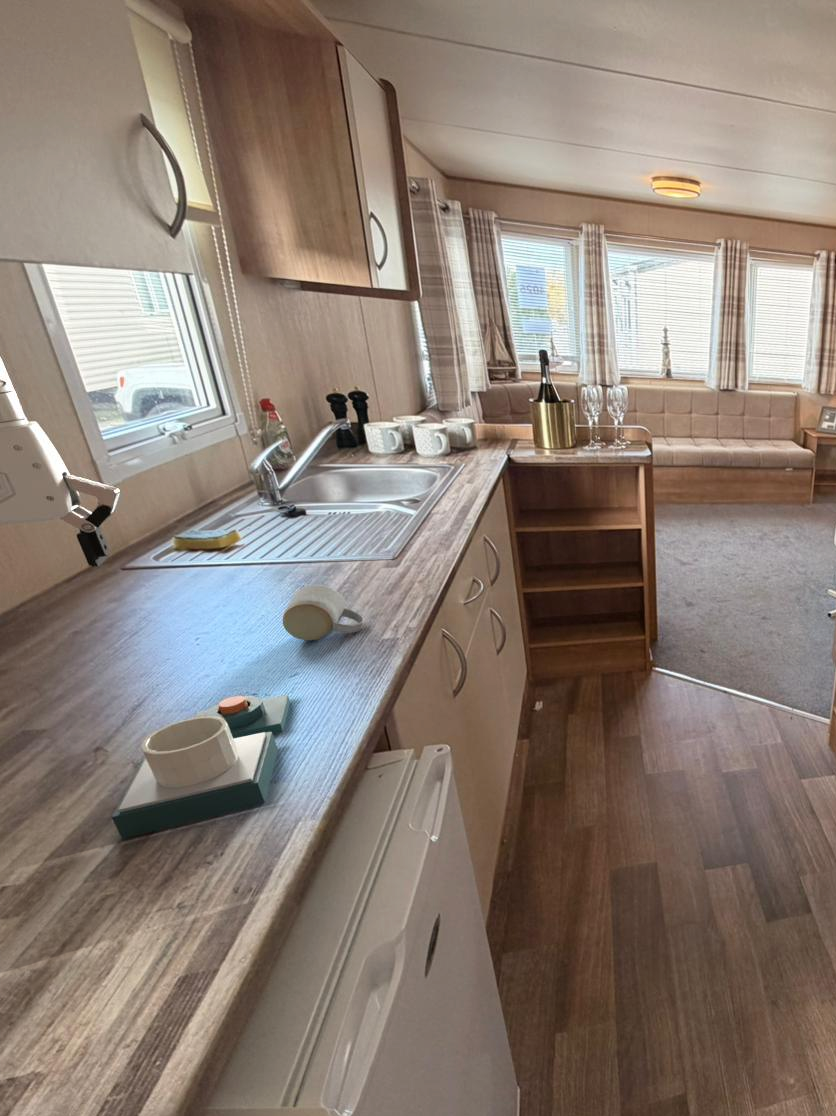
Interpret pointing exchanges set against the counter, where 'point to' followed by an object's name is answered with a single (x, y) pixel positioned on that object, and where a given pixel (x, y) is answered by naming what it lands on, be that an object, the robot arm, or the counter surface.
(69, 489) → the robot arm
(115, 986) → the counter surface
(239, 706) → the button
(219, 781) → the scale
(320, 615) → the ceramic mug
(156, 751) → the bowl
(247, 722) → the pad
